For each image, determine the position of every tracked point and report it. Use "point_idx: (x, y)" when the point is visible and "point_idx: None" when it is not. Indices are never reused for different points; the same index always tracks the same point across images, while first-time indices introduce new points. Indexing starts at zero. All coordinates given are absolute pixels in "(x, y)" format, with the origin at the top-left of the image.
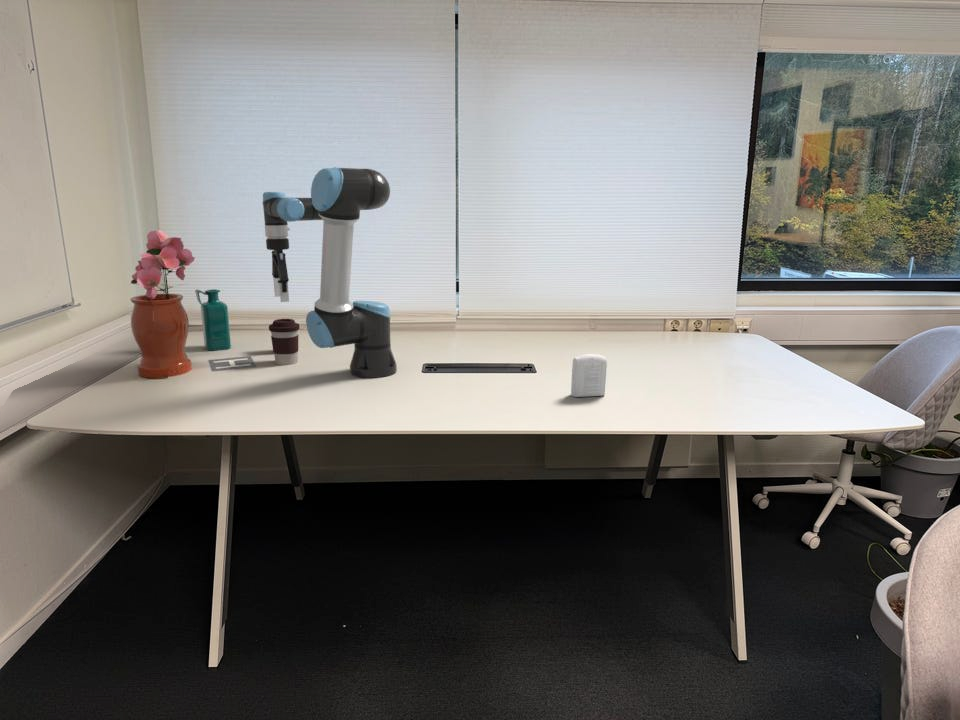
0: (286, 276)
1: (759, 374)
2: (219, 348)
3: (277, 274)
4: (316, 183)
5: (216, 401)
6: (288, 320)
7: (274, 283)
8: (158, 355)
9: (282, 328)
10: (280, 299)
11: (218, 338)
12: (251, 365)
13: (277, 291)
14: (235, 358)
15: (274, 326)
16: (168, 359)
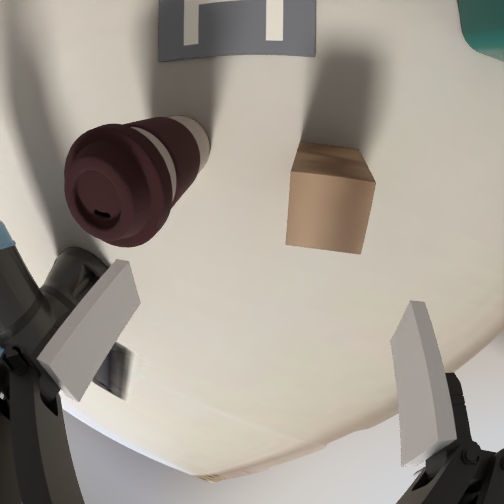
0: (2, 405)
1: (97, 424)
2: (460, 10)
3: (415, 493)
4: None
5: (6, 30)
6: (117, 221)
7: (429, 398)
8: None
9: (64, 175)
10: (120, 271)
11: (476, 4)
12: (179, 46)
13: (410, 347)
14: (298, 7)
15: (81, 150)
16: None
